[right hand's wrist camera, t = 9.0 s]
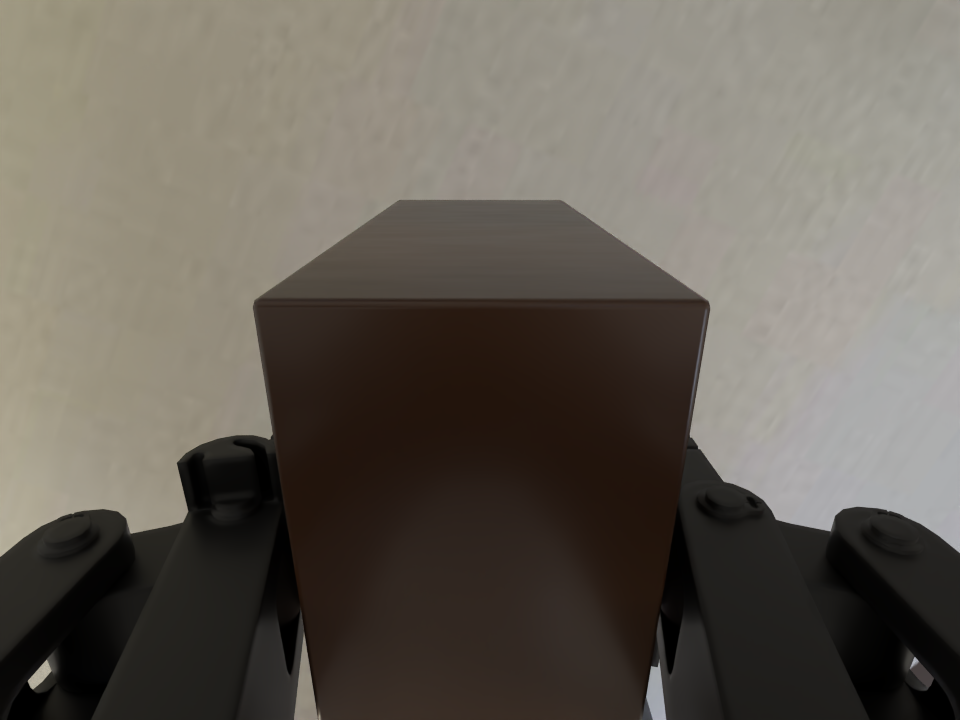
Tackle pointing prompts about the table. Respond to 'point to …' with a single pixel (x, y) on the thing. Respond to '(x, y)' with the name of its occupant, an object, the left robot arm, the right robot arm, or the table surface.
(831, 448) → the table surface
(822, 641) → the right robot arm
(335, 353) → the plank
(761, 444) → the table surface
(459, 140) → the table surface
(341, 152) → the table surface
